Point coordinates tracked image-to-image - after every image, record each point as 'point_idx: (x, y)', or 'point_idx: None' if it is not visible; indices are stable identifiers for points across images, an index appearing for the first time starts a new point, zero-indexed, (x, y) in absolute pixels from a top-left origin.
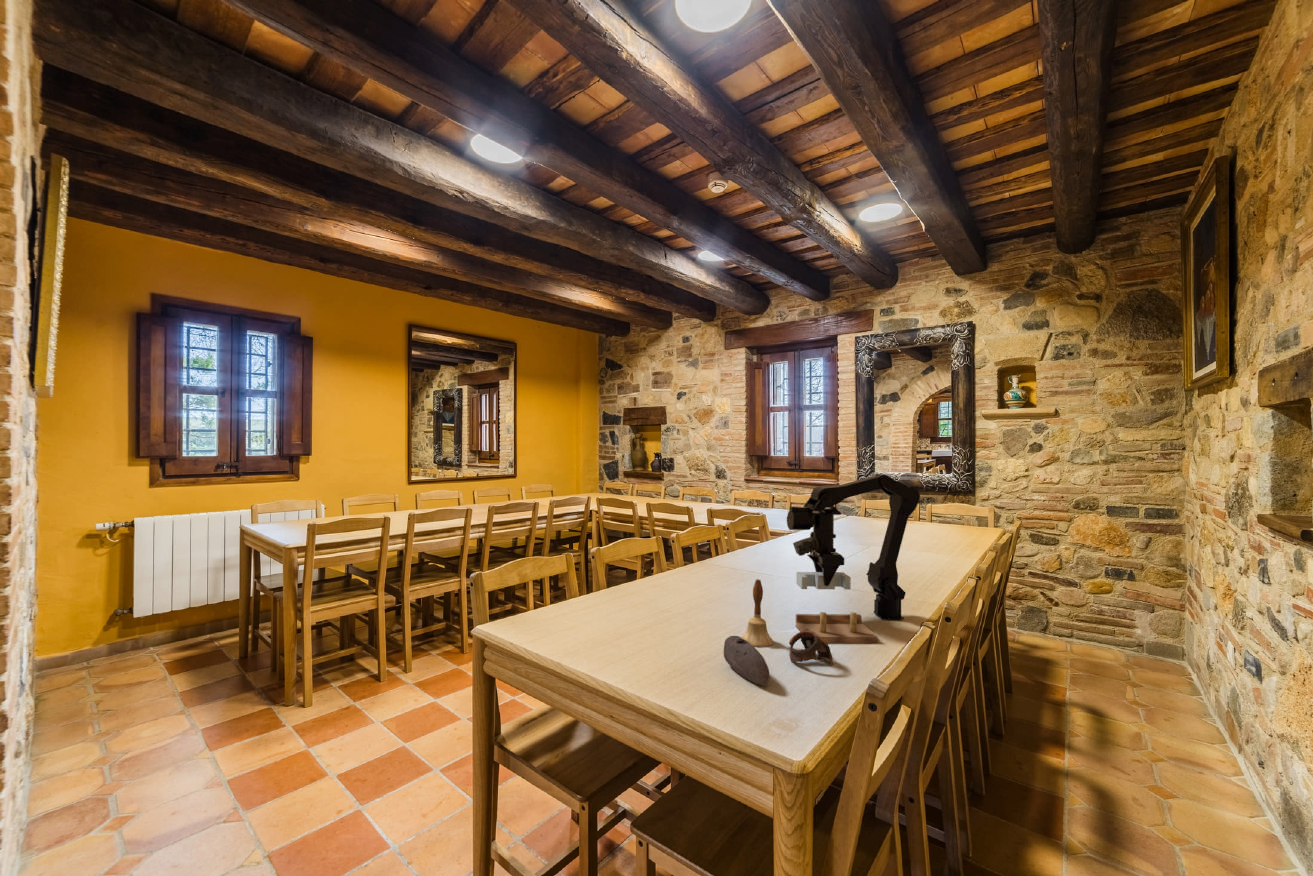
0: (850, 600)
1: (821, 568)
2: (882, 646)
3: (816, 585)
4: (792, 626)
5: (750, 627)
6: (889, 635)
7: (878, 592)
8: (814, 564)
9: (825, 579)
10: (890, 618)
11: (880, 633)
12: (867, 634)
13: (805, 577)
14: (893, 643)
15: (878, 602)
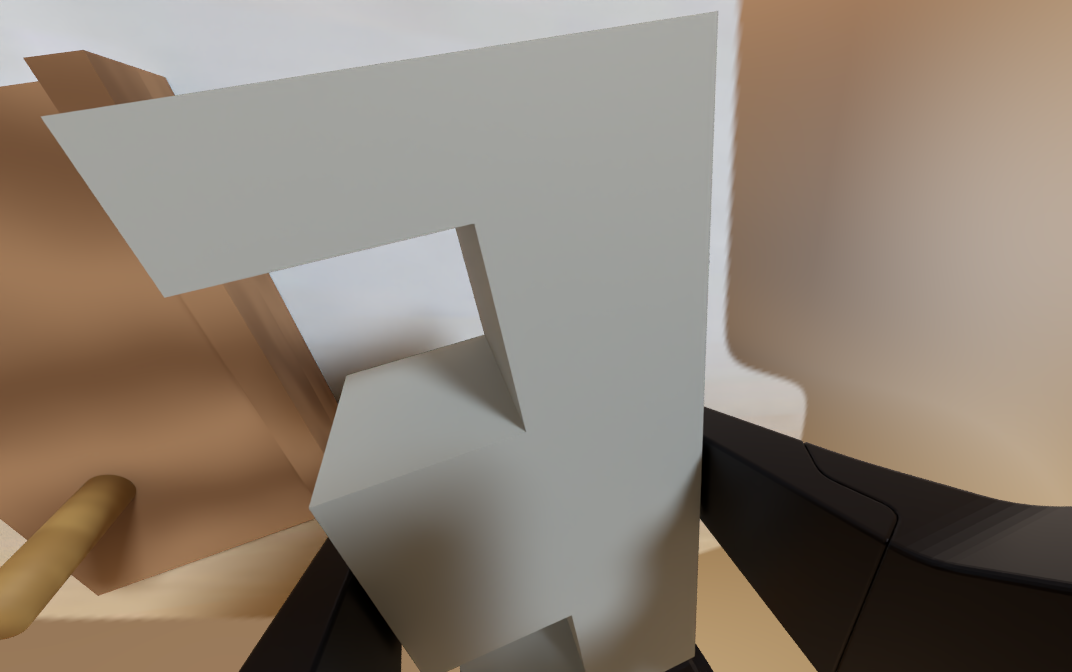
0: (761, 417)
1: (751, 541)
2: (70, 585)
3: (396, 380)
4: (161, 44)
5: None
6: (297, 582)
7: None
8: (874, 496)
9: (306, 591)
10: None
11: (310, 553)
12: (117, 553)
13: (130, 242)
14: (168, 609)
15: None
